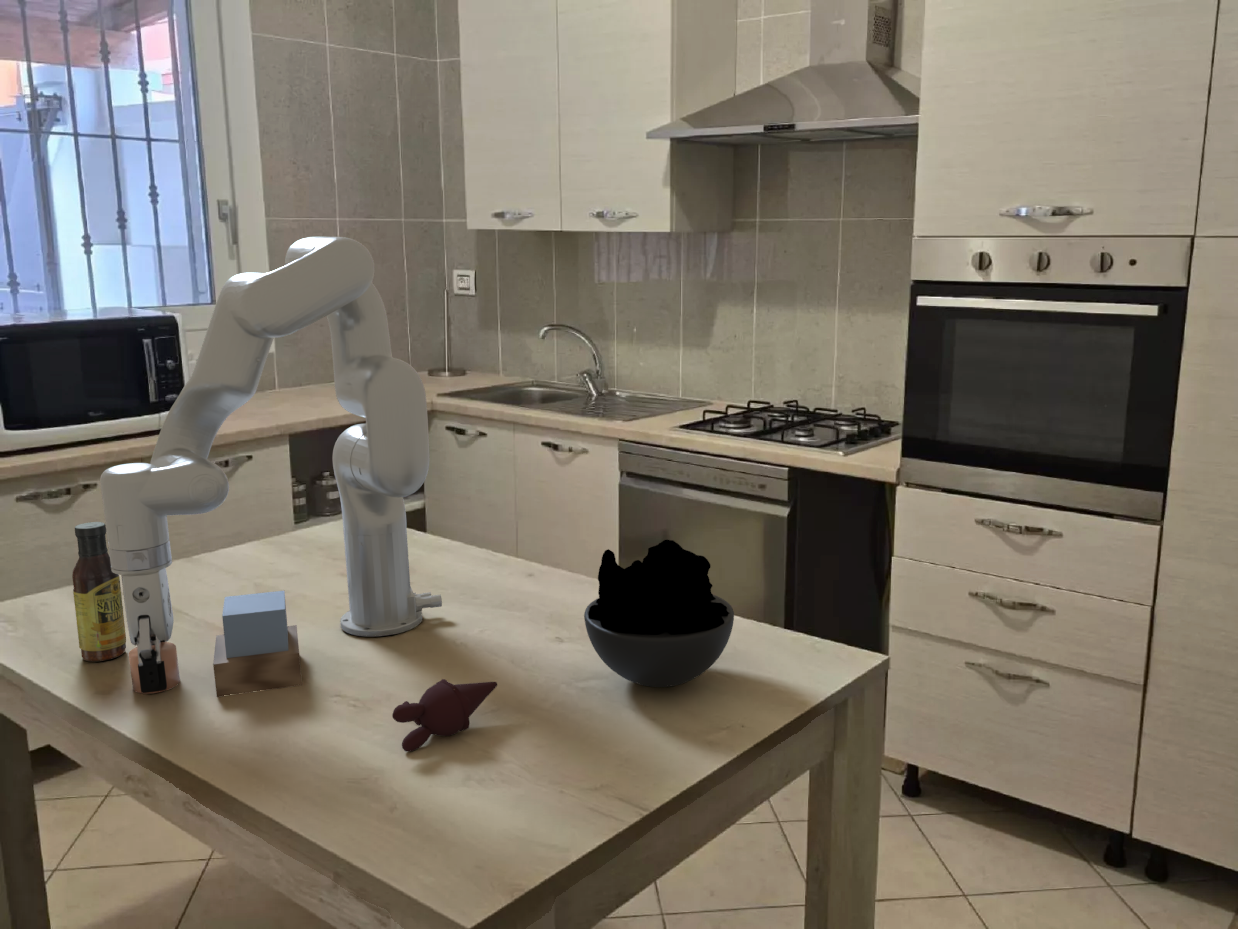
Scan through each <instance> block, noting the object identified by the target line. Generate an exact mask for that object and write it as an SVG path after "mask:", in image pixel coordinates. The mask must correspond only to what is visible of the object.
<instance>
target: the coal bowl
mask: <svg viewBox="0 0 1238 929" xmlns="http://www.w3.org/2000/svg"><path fill="white" fill-rule="evenodd" d="M647 550H648V551H647V554H646V556H645V557H644V558H643V559H642V561H641V560H639V559H636V560H634V561H633V562H632V563H631V564H630V565H629V566H627V567H625V568H624V567H622V566H620V565H619V564H618V563H617V561H616V556H615V555H616V554H615V553H614V551H612V550H611V549H609V548H608V549H606V550H604V552H603V554H602V555H601V561H600V562H601V563H600V566H599V569H598V573H597V574H598V575H597V581H598V592H597V593H598V598H596V599H594V600H593V601H591V602H590V603H589V604H588V605H587V606H586V608H585V610H584V614H583V616H584V625H585V629H586V632H587V636H588V638H589V641H590V643H591V646H592V647H593V649H594V651H595V652H596V654H597V655H598V657H599V658H600V660H602V661H603V663H604V664H605V665H606V666H607V667H608V668H609V669H610V670H611V671H613V672H614V673H615V674H617V675H619V676H620V677H621V678H623V679H625V680H627V681H629V682H632V683H634V684H636V685H640V686H645V687H651V688H652V687H653V688H667V687H668V688H669V687H674V686H679V685H682V684H684V683H688V682H690V681H693V679H696V678H697V677H699V676H700V675H702V674H704V673H705V672H706V671H708V670H709V669H710V668H711V667H712V666H713V665H714V664H715V663H716V661H718V659H719V658H720V657H721V655H722V654H723V652H724V650H725V649H726V646H727V644H728V642H729V640H730V638H731V634H732V631H733V626H734V620H735V612H734V609H733V607H732V605H731V604H730V603H729V602H728V601H726V600H725V599H724V598H722V597H720V596H718V595H715V594H713V593H712V588H713V584H712V583H711V582H710V577H709V575H708V574H709V571H710V569H711V568H712V567H711V566H712V565H711V563H710V561H709V560H708V559H707V558H706V556H704V555H698V554H696V553H694V552H692V551H690V550H686V549H684V548H683V547H682V546H681V545H680V544H679V543H678V542H677V541H675V540H672V539H664V540H662V541H661V542H659V543H658V544H656V545H653V546H651V547H648V549H647Z"/></svg>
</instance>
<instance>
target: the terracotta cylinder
mask: <svg viewBox="0 0 1238 929" xmlns="http://www.w3.org/2000/svg"><path fill="white" fill-rule="evenodd" d="M151 647H152V649H154V650H155V651H156V649H155V645H152V646H151ZM160 648H161V661H164V666H165V674H166V682H167V688H166V691H169V690H171V689H173V688H175V687H176V685H177V684H178V683H179V684H180V682H181V676H180V669H179V663H178V652H177V645H176V644H175V643H172V642H169V641H167V642H160ZM128 659H129V660H128V661H129V668H130V676H131V685H132V690H133V691H134V692H135V693H138V694H146V695H149V694H150V695H151V694H157V693H162V692H165V690H162V691H155V692H148V693H142V692H141V687H140V679H139V671H138V664H139V663H138V650H137V646H136V647H134V648H132V649H131V650H130V651H128ZM179 684H178V685H179ZM178 685H177V686H178Z"/></svg>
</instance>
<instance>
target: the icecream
mask: <svg viewBox="0 0 1238 929" xmlns="http://www.w3.org/2000/svg"><path fill="white" fill-rule="evenodd" d="M497 686H498V682H497V681H483V682H482V681H481V682H473V683H472V682H471V683H457V684H453V683H452V682H449V681H448V680H447V679H444V678H441V680H440V681H438V682H436V683H435V684H433V685H431V686H430V687H429V688H427V689H426V690H425V691H424V693H423V695H422V696H421V698H420V699H419V701H418V702H412V703H410V702H409V701H408V700H406V701H404V702H403V703H402V704H398V705H396V707H394V709H393V711H392V714H391V716H392V719H393V720H394V721H395V722H396V723H401V724H402V723H403V724H404V723H410V722H414V724H415V725H416V726H418V727H417V728H414V729H413V730H411V731H410V732H409V733H408V734H407V735H406V736H405V737H404V738H403V740H402V743H401V747H402V750H403V751H404V752H413V751H416V750H418V749H420V748H421V747H422V746H423V745H424V744H425V743H427V741H428V740H429V738H430V737H431V735H433V736H439V737H450V736H453V735H456V734H457V733H458V732H464V731H466V730H468V729H469V727H470V724H471V723H470V717H471V715H472V714H474V712H475V711H476V710H477V709H478V708H479V707H480V706H481V705H482V703H483V702H484V701H485V700H486V699H487V697H488V696H490V694H491V693H492V692H493V691H494V690H495V689H496V688H497Z"/></svg>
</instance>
